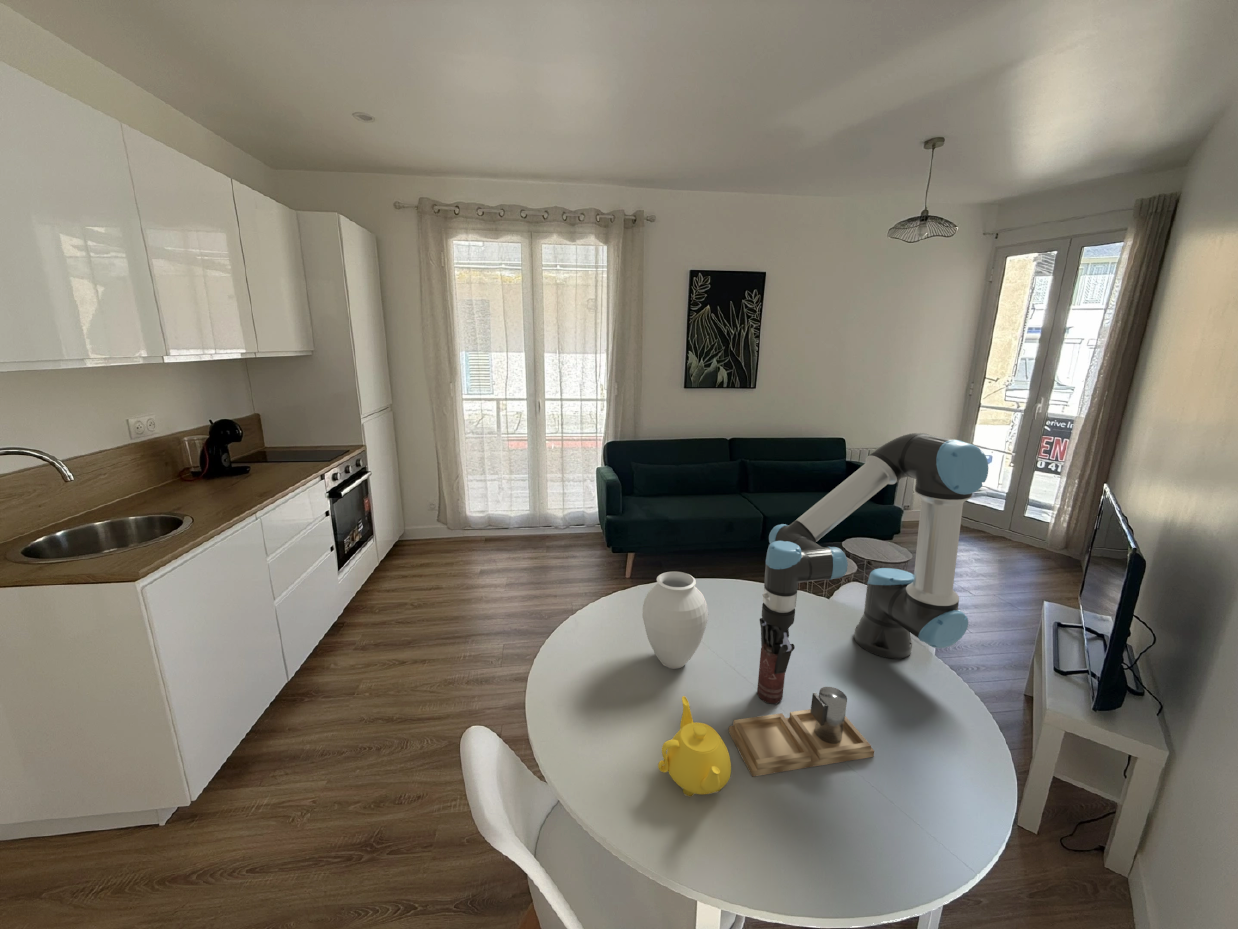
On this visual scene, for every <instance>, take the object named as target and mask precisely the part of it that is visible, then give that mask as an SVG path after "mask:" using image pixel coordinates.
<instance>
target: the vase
mask: <svg viewBox="0 0 1238 929" xmlns="http://www.w3.org/2000/svg"><path fill="white" fill-rule="evenodd" d="M696 584H697V580H696V578H695V577H693V576H692V575H691V574H689V573H686V572H682V571H676V570H675V571H667V572H663V573H661V574H659V575H658V576H657V577H656V584H655V585H654V586H652V587H651V588H650V589H649V591H647V594H646V596H645V598H644V600H643V604H642V605H643V606H642V621H643V626H644V629H645V634H646V637H647V640H648V642H649V644H650V646H651V649H652V650H653V652H654V654H655V657H657V659H658V660H659V661H660V663H661V664H662V665H663V666H664V667H666V668H669V669H674V670H675V669H680V668H683V667H684V666H685V665H686V664H687V663H688V662H689V661H690V660H691V659H692V658H693V656H694V655H695V653H696V651H697V649H698V648H699V646H700V644H701V642H702V640H703V637H704V634H705V630H706V628H707V624H708V620H709V610H708V603H707V601H706V599H705V596H704V594H703V593H702V592H701V591H700V590H699V588H697V587H696Z"/></svg>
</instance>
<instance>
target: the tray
mask: <svg viewBox="0 0 1238 929" xmlns="http://www.w3.org/2000/svg"><path fill="white" fill-rule="evenodd" d="M815 723H816V719H815V717H814V716H813V715H812V714H811V708H809V709H802V710H795V711H790V712H789V717H785V714H783V712H782V713H775V714H773V713H772V714H768V715H759V716H753V717H747V718H739V719H733V723H732V724H733V725H730V726H728V733H729V735H730V737H731V740H732V741H733V743H734V745H735V746H736V748H737V751H738V753H739V754H740V755H741V758H742V759H743V761H744V763H745V765H746V767H747V770H748V771H749V773H750V775H751V777H757V776H758V777H759V776H764V775H771V774H778V773H783V772H789V771H795V770H801V769H807V768H814V767H817V766H819V767H820V766H825V765H832V764H836V763H844V762H850V761H856V760H862V759H867V758H873V757H874V756H875V750H874V749H873V748H872V744H870V742H869V741H868V740H867V739H866V738H865V736H863V734H862V733H861V732H860V731H859V729H858V728H857V727H856V726H855V725H854V723H852V722H851V721H850V719H849V718H848V717H847V716H846V715H845V719H844V726H843V734H842V740H841V742H839V743H837V744H830V743H827V742H824V741H822V740H821V739H820V738H819V737H818V736H817V735H816V733H815Z"/></svg>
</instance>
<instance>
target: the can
mask: <svg viewBox="0 0 1238 929" xmlns="http://www.w3.org/2000/svg"><path fill="white" fill-rule="evenodd" d="M766 644H767V642H765V643H764V644H763V646H762V647H760V655H759V667H758V668H759V669H758V678H757V689H756V690H757V696H758V697H759V699H761V701H762V702H764V703H766V704H769V705H776V704H779V703H780V702H781V701H782V700H783V697H784V688H785V687H784V686H785V679H786V678H785V677H786V676H785V675H786V672H785V673H780V674H775V672H774V670H775V664H776V661H777V657H778V654H773V652H772V647H771V648H770V647H769V646H767V645H766ZM768 647H769V648H768Z"/></svg>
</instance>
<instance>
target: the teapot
mask: <svg viewBox="0 0 1238 929" xmlns="http://www.w3.org/2000/svg"><path fill="white" fill-rule="evenodd" d="M681 702H682V714H681V719H680V723H679V724H680V725H679V730H678V731H677V732H676V733H675V735H673V737H672V739H669V740H666V741H665V742H663V744H662V745H661V753H662V760H660V761H659V762H658V764H657V769H658V770H659V771H660V772H661V773H664V774H666V773H668V774H669V775H670V778H671V779H672V780H673V781H674V782H675V783H676V785H678V786H679V787H680V788H681V789H682V792H683V794H684V795H685V796H686V797H693V796H694V795H702V796H703V795H710V794H714V793H719V792H721V791H722V789H723V788H724V787H725V786H726V785H727V784H728V782H729V780H730V778H731V776H732V762H731V757H730V753H729V750H728V748H727V746H726V743H725V742H724V740H723V738H722V737H721V736H720V734H719V733H718V732H717V731H716V730H715V729H714V728H713V727H712V726H710V725H709V724H707V723H704V722H694V720H693V714H692V712H691V706H690V702H689V700H688V698H687V697H686V696H685V695H683V696H682V697H681Z"/></svg>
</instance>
